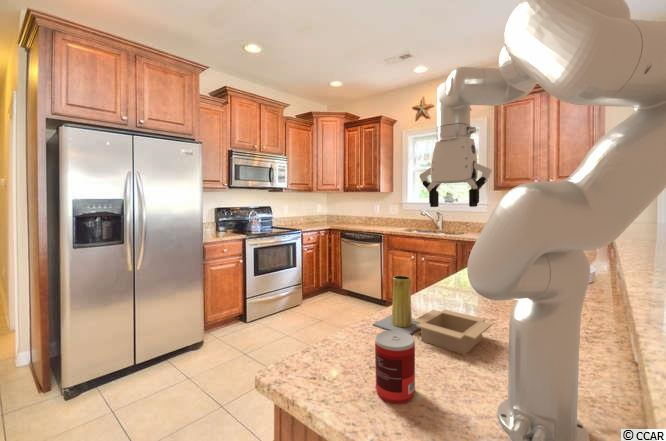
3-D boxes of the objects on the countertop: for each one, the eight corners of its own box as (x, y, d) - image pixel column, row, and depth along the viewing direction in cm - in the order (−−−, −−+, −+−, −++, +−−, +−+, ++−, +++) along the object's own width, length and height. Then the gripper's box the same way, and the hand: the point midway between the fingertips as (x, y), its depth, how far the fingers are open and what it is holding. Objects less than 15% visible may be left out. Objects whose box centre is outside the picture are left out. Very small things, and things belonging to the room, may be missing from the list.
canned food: (408, 380, 67) (408, 329, 66) (420, 404, 59) (420, 346, 58) (372, 381, 67) (372, 330, 66) (379, 405, 59) (378, 348, 58)
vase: (412, 328, 93) (412, 280, 92) (391, 327, 94) (391, 279, 93) (411, 320, 99) (411, 275, 98) (391, 319, 100) (391, 274, 99)
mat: (407, 336, 88) (407, 334, 88) (372, 325, 97) (372, 323, 97) (428, 324, 97) (428, 322, 97) (395, 314, 105) (395, 313, 105)
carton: (470, 362, 74) (470, 341, 74) (408, 341, 86) (408, 323, 85) (495, 339, 86) (495, 321, 85) (437, 323, 97) (437, 307, 97)
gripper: (496, 131, 73) (496, 206, 74) (427, 142, 85) (427, 206, 86) (485, 126, 68) (484, 206, 68) (412, 139, 80) (413, 207, 81)
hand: (452, 206), depth 77 cm, fingers open, 9 cm apart
